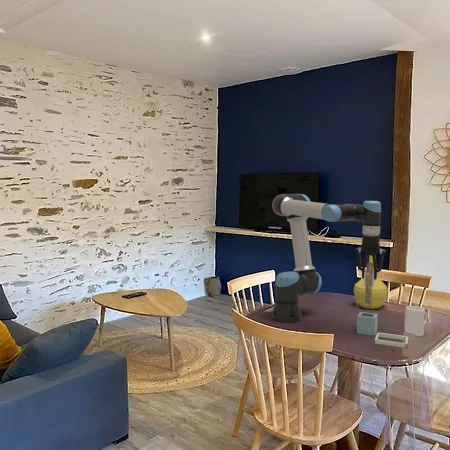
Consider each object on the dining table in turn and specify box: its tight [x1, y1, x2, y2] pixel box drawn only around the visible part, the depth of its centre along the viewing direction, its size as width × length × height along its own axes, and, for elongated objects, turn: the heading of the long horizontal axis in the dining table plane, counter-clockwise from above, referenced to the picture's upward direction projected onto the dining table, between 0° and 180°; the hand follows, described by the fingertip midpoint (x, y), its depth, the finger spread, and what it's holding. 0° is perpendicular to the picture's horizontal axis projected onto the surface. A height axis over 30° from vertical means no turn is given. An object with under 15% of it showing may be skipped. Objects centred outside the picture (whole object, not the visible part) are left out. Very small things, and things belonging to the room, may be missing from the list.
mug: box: [404, 305, 428, 337], centre depth 214 cm, size 12×8×12 cm
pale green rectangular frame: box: [374, 331, 409, 349], centre depth 200 cm, size 13×11×3 cm
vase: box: [353, 255, 389, 310], centre depth 260 cm, size 18×18×30 cm
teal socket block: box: [356, 311, 379, 337], centre depth 212 cm, size 8×8×9 cm
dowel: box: [365, 262, 373, 307], centre depth 210 cm, size 3×3×20 cm
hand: (368, 285), depth 211 cm, fingers closed on dowel, 3 cm apart
